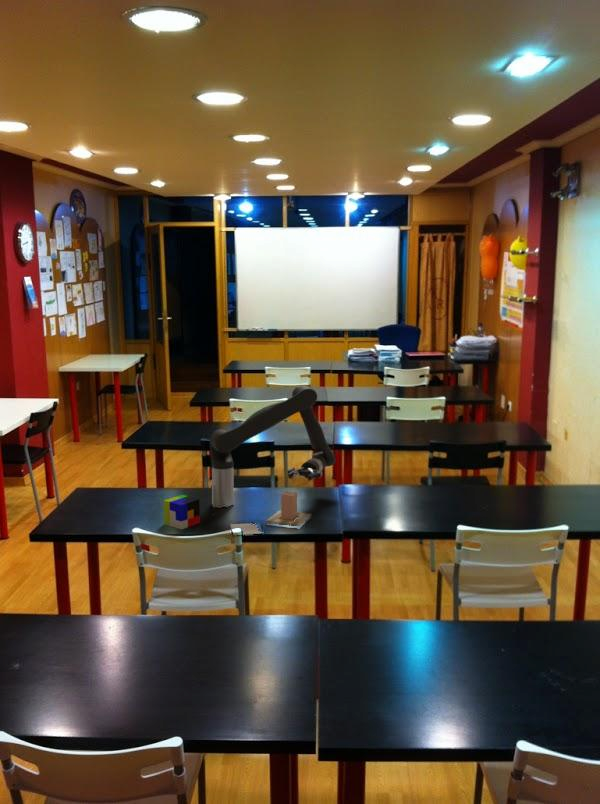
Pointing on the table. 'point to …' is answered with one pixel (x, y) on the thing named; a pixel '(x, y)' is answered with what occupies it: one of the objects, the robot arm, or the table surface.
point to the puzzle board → (277, 520)
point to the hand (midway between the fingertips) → (299, 477)
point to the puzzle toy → (181, 511)
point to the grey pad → (247, 528)
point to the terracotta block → (289, 506)
